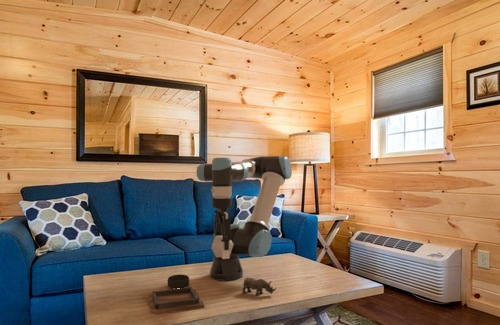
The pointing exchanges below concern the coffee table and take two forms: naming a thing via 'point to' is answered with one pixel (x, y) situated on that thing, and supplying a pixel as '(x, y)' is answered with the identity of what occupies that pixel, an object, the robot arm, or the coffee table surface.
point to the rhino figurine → (257, 285)
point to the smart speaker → (178, 281)
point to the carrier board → (174, 300)
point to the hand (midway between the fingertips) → (222, 255)
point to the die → (219, 246)
